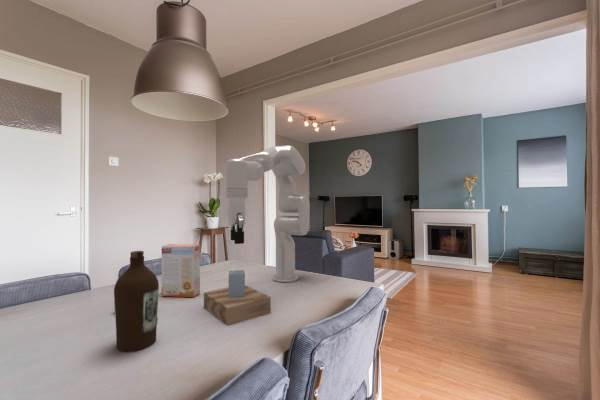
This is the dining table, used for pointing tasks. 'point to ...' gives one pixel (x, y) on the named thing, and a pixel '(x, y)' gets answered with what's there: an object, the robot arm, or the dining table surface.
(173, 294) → the cracker box
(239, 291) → the blue block
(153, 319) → the olive oil
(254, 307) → the riser block
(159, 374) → the dining table surface
